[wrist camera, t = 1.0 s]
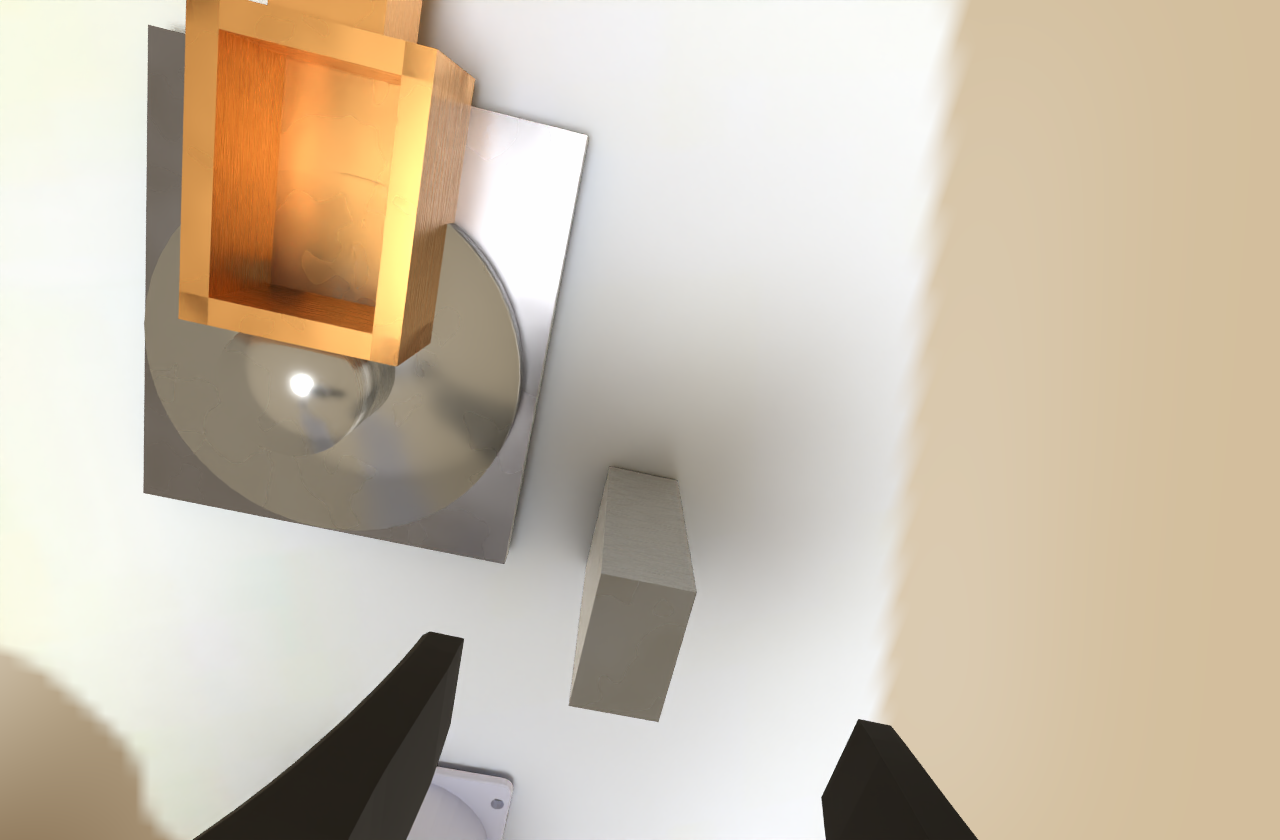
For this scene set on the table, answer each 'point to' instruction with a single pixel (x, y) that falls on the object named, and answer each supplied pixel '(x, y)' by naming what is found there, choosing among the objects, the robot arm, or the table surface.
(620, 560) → the brushed metal block
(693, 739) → the table surface
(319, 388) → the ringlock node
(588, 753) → the table surface
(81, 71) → the table surface
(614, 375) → the table surface
